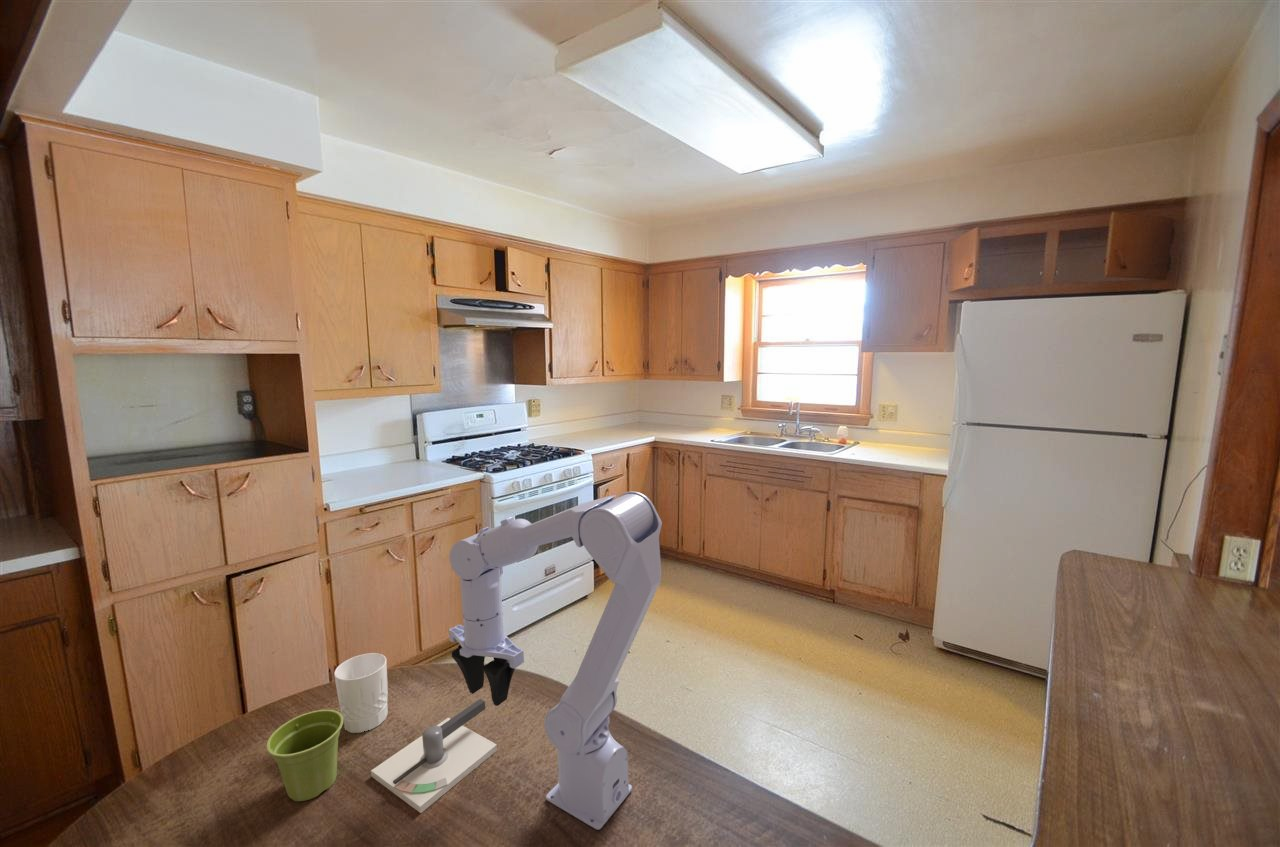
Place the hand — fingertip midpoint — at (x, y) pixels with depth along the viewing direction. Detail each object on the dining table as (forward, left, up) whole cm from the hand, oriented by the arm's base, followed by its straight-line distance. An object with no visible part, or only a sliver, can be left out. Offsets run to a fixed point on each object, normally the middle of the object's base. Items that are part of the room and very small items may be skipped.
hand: (488, 695), depth 81 cm
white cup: (+25, +6, -10) cm, 28 cm away
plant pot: (+18, +18, -10) cm, 27 cm away
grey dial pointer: (+6, +4, -9) cm, 11 cm away
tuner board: (+6, +6, -10) cm, 13 cm away
